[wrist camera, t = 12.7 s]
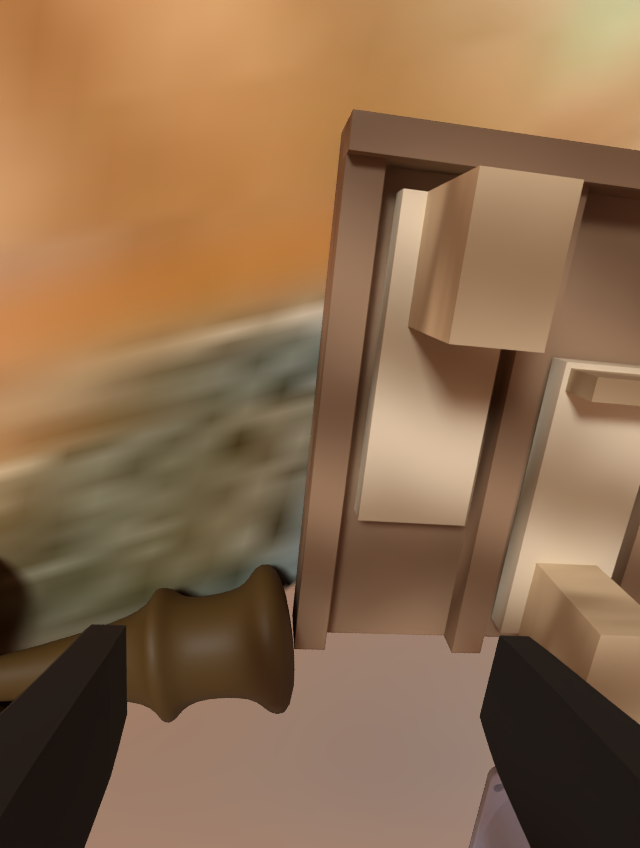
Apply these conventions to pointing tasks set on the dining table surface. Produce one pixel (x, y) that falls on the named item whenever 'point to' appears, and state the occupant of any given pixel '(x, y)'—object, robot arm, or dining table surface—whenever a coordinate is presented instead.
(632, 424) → the strip
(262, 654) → the kendama
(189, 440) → the dining table surface
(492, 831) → the robot arm
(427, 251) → the strip
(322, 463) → the lane board
